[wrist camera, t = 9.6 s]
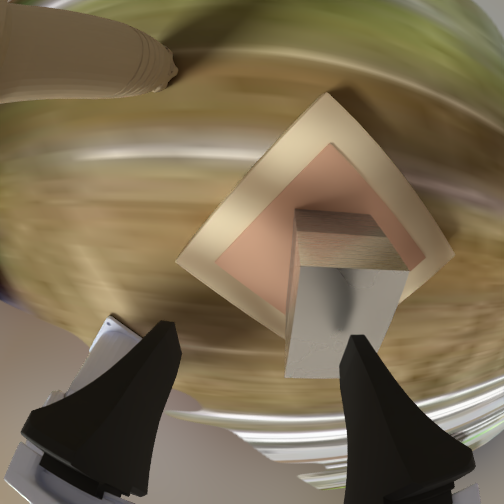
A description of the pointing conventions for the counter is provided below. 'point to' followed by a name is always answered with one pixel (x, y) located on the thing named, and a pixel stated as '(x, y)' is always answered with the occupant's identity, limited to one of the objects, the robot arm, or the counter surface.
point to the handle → (76, 56)
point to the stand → (311, 198)
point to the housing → (337, 289)
